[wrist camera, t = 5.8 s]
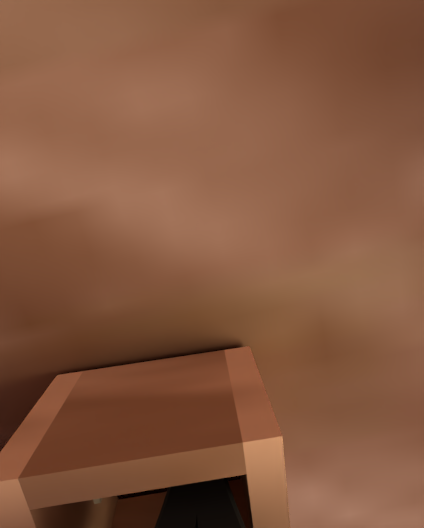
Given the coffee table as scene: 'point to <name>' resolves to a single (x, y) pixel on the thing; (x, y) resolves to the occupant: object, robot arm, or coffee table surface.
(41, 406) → the pull frame
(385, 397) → the coffee table surface
